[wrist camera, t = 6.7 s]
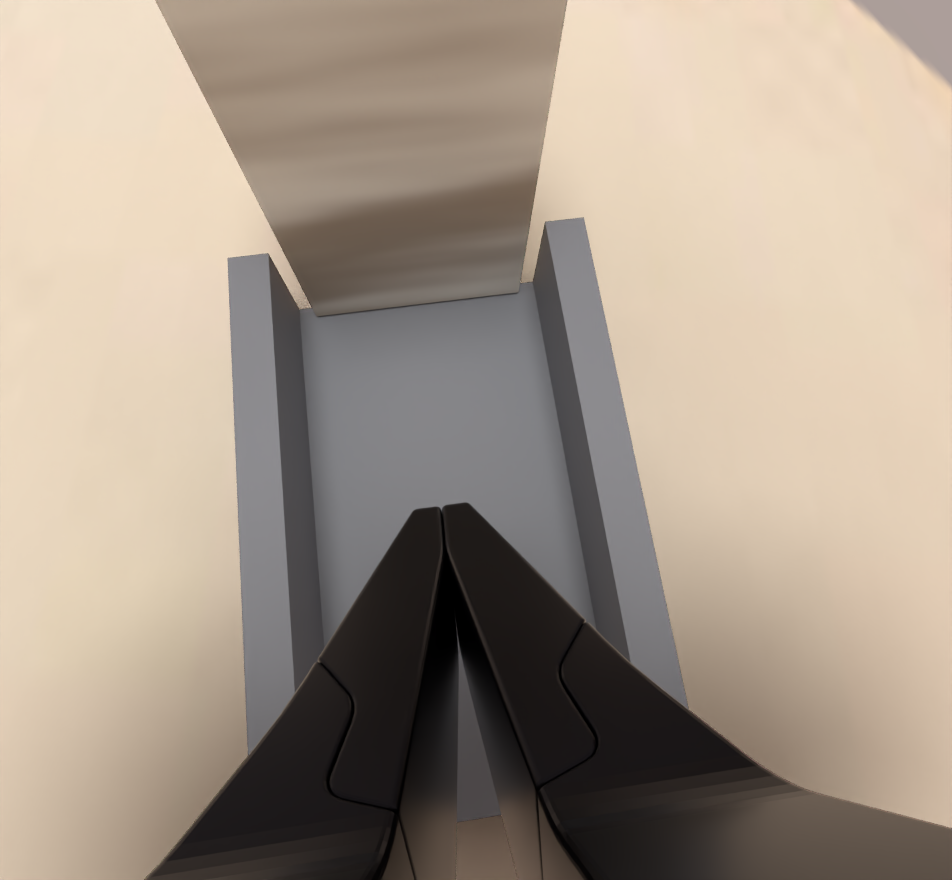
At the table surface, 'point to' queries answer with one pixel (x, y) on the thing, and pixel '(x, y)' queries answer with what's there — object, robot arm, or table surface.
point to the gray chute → (434, 465)
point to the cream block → (383, 135)
